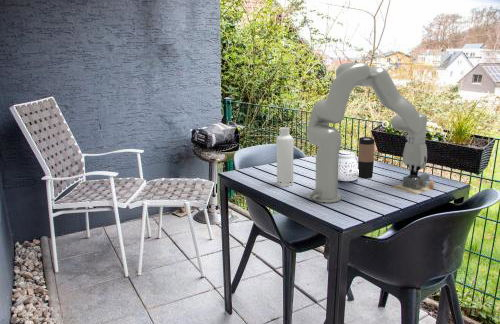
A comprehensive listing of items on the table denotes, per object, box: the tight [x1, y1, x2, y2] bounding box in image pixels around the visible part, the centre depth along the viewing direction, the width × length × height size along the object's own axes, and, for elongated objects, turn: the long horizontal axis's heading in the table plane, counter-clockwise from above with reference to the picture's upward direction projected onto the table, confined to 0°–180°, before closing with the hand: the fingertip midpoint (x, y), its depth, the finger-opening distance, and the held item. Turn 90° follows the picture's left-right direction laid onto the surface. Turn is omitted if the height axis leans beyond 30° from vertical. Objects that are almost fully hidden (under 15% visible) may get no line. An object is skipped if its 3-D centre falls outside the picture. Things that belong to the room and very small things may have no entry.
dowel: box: [428, 179, 435, 190], centre depth 172 cm, size 2×2×4 cm
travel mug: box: [357, 136, 376, 179], centre depth 195 cm, size 8×8×20 cm
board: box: [390, 183, 436, 195], centre depth 175 cm, size 15×13×1 cm
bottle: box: [275, 126, 294, 187], centre depth 186 cm, size 8×8×28 cm
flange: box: [402, 173, 430, 190], centre depth 177 cm, size 13×7×4 cm, turn 122°
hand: (413, 178), depth 182 cm, fingers closed
